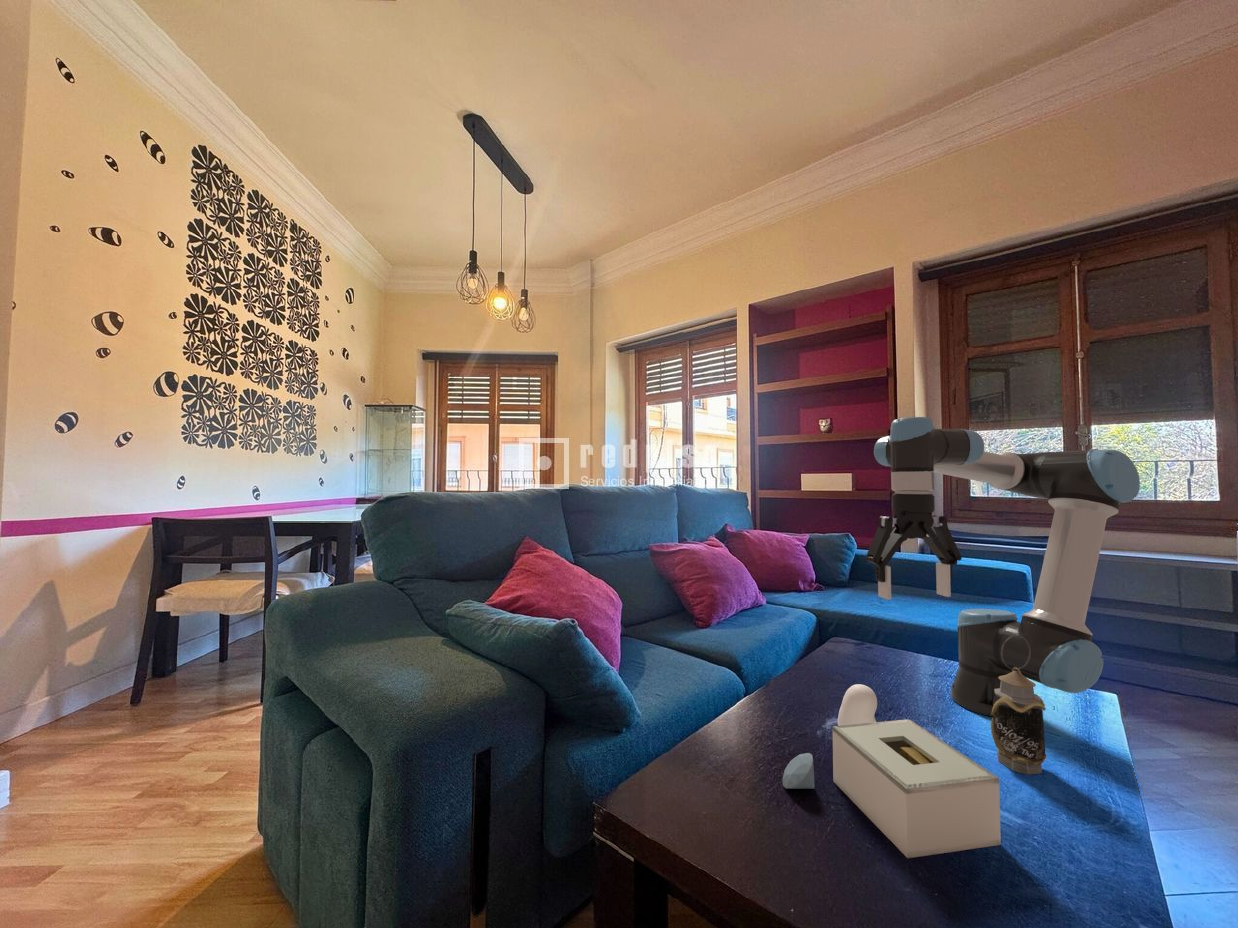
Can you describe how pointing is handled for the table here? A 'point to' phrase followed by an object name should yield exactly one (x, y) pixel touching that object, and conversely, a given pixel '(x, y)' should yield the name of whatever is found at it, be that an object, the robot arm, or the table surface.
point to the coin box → (917, 788)
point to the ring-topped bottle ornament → (1018, 722)
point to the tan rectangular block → (913, 756)
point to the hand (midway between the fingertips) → (914, 596)
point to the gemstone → (799, 773)
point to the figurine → (858, 706)
